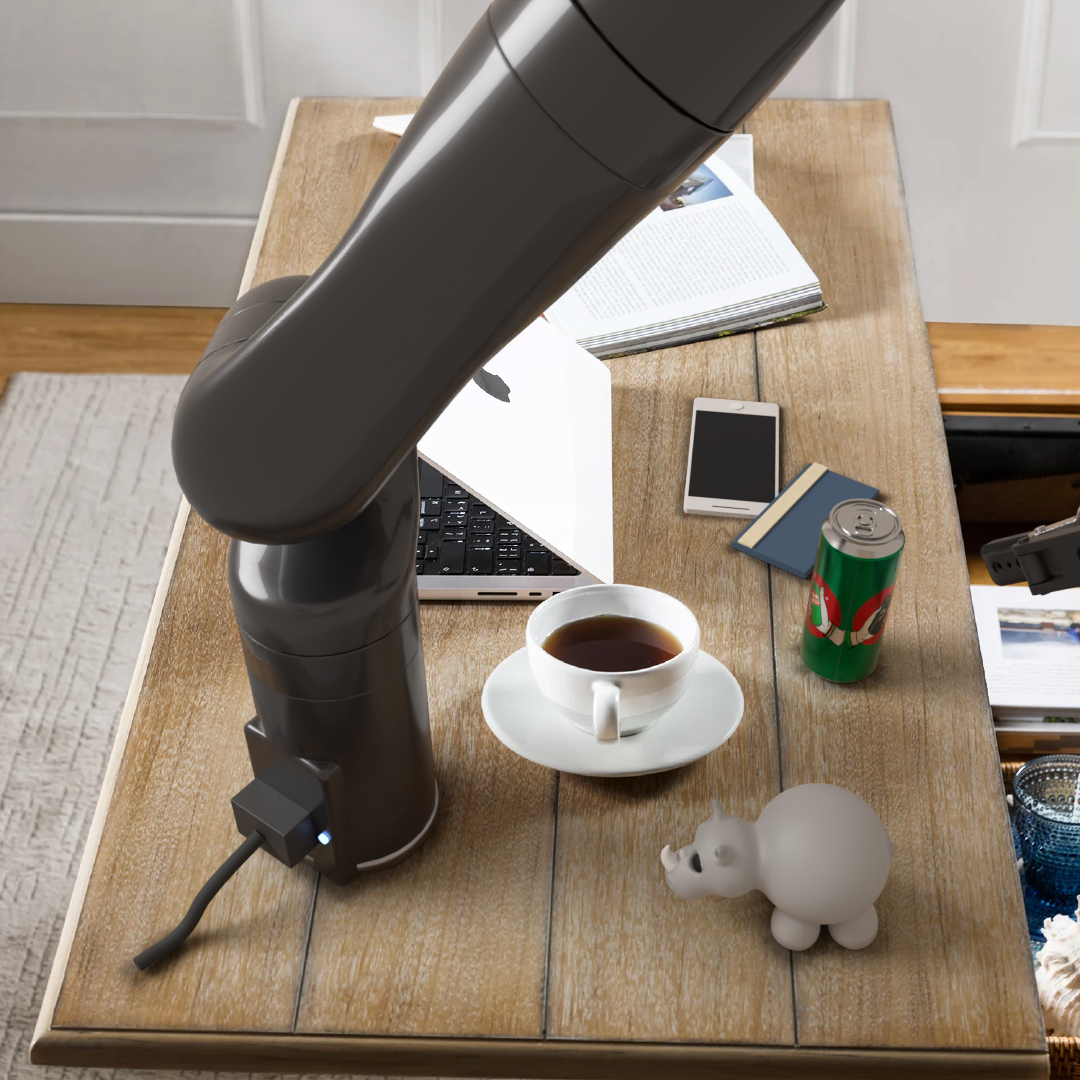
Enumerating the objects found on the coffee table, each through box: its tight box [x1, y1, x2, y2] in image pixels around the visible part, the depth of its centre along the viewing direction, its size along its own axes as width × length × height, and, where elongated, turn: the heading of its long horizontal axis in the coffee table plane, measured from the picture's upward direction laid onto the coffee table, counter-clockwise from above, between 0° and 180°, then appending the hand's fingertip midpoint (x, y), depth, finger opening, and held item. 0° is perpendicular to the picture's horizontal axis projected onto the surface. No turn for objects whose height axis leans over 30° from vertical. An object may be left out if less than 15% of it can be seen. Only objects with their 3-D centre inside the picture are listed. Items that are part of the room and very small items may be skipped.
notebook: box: [732, 461, 880, 580], centre depth 96 cm, size 12×6×1 cm, turn 143°
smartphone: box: [683, 396, 780, 520], centre depth 102 cm, size 7×15×1 cm, turn 172°
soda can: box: [799, 499, 906, 684], centre depth 81 cm, size 5×5×12 cm
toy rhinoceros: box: [660, 782, 896, 952], centre depth 67 cm, size 7×12×8 cm, turn 89°
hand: (1048, 534), depth 65 cm, fingers open, 8 cm apart
